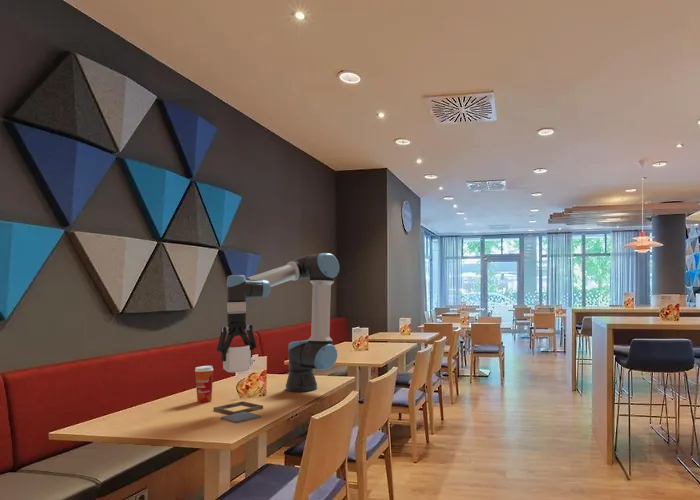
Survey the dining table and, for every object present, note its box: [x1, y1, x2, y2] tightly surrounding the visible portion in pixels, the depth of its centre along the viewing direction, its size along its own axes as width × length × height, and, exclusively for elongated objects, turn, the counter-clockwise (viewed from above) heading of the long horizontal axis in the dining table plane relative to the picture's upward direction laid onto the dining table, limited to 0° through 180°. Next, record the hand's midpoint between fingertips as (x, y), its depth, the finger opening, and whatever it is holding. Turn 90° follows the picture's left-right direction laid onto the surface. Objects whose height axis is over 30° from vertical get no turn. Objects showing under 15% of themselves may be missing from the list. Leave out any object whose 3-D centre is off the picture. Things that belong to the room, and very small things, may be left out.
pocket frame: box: [213, 401, 264, 415], centre depth 214 cm, size 14×14×1 cm
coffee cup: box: [194, 365, 214, 404], centre depth 232 cm, size 8×8×15 cm
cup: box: [225, 344, 251, 373], centre depth 214 cm, size 10×10×10 cm
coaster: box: [220, 412, 263, 424], centre depth 199 cm, size 11×11×1 cm
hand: (237, 367), depth 214 cm, fingers closed on cup, 10 cm apart
